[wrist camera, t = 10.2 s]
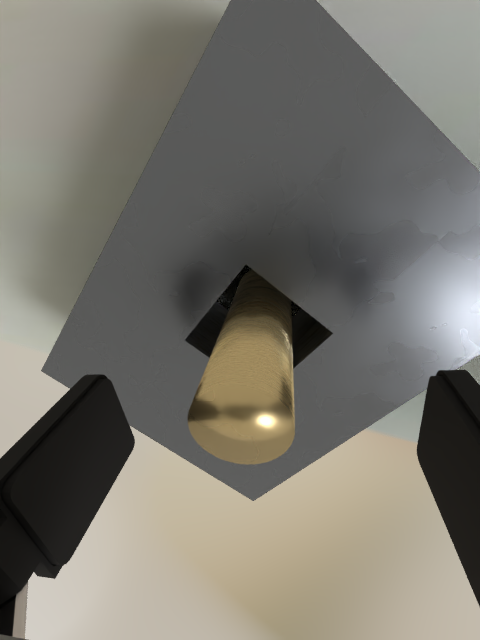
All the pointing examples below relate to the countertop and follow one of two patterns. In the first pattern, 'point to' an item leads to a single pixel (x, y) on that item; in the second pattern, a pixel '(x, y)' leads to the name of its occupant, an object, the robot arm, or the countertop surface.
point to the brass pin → (248, 379)
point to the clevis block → (286, 241)
